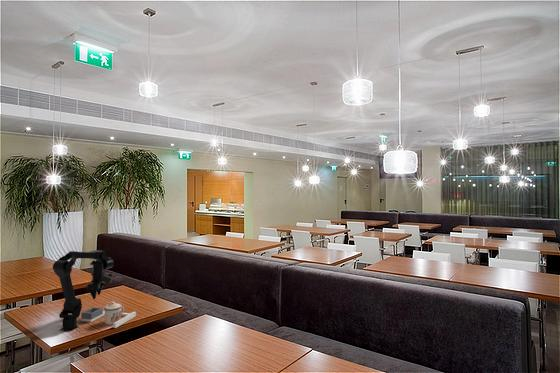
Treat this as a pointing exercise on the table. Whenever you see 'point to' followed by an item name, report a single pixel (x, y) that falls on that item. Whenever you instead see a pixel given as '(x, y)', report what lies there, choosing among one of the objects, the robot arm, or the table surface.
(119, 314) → the teacup with lid
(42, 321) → the table surface
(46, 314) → the table surface
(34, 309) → the table surface
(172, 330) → the table surface
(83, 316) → the grey open storage bin
